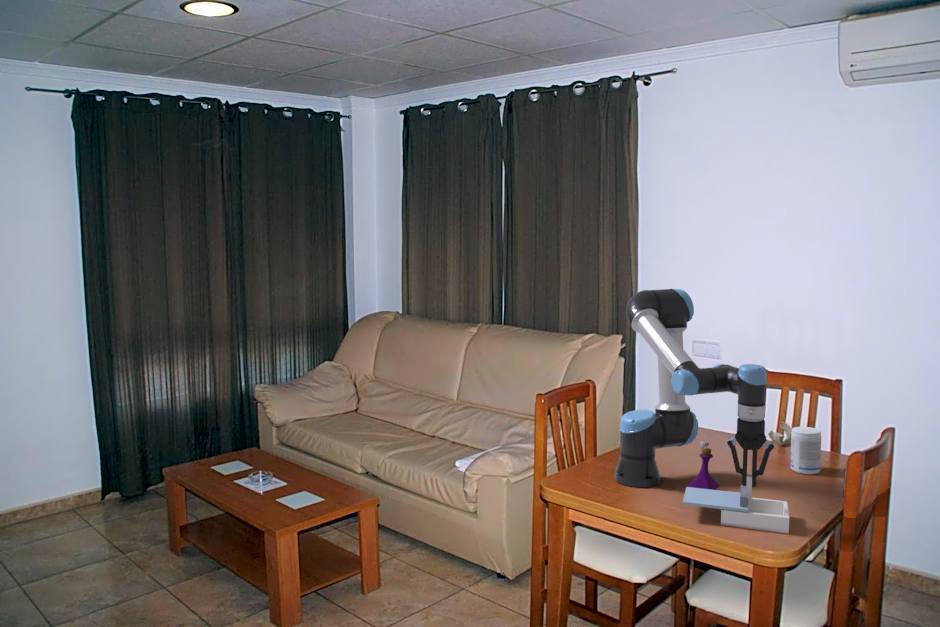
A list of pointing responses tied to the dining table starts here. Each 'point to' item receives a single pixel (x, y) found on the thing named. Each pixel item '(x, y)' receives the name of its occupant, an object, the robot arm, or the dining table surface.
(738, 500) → the lid
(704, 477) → the perfume bottle
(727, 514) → the storage box
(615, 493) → the dining table surface
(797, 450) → the supplement tub
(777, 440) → the beige irregular lump
